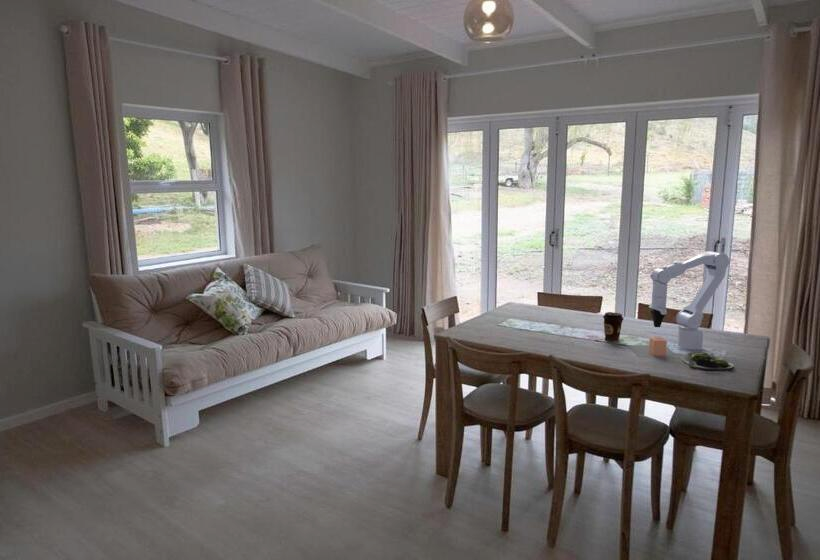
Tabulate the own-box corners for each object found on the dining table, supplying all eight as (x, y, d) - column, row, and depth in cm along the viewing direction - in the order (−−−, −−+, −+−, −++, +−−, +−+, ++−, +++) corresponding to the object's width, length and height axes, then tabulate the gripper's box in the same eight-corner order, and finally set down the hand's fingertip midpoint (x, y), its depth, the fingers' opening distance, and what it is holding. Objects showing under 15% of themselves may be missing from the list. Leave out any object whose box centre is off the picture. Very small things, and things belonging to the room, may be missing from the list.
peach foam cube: (661, 352, 236) (662, 337, 235) (665, 356, 231) (666, 340, 230) (648, 352, 237) (649, 337, 236) (652, 355, 232) (653, 340, 231)
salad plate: (669, 357, 232) (670, 346, 231) (710, 356, 233) (711, 346, 232) (695, 373, 213) (696, 361, 212) (740, 372, 214) (741, 360, 213)
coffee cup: (608, 344, 250) (610, 316, 248) (598, 339, 258) (599, 312, 256) (625, 342, 252) (627, 314, 250) (614, 337, 260) (615, 310, 258)
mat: (665, 346, 246) (665, 345, 246) (680, 358, 229) (680, 357, 229) (626, 345, 247) (626, 344, 247) (637, 357, 231) (637, 356, 231)
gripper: (644, 292, 246) (642, 322, 248) (655, 299, 232) (653, 331, 234) (660, 293, 245) (658, 322, 248) (672, 300, 231) (670, 331, 234)
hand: (657, 326), depth 241 cm, fingers closed
